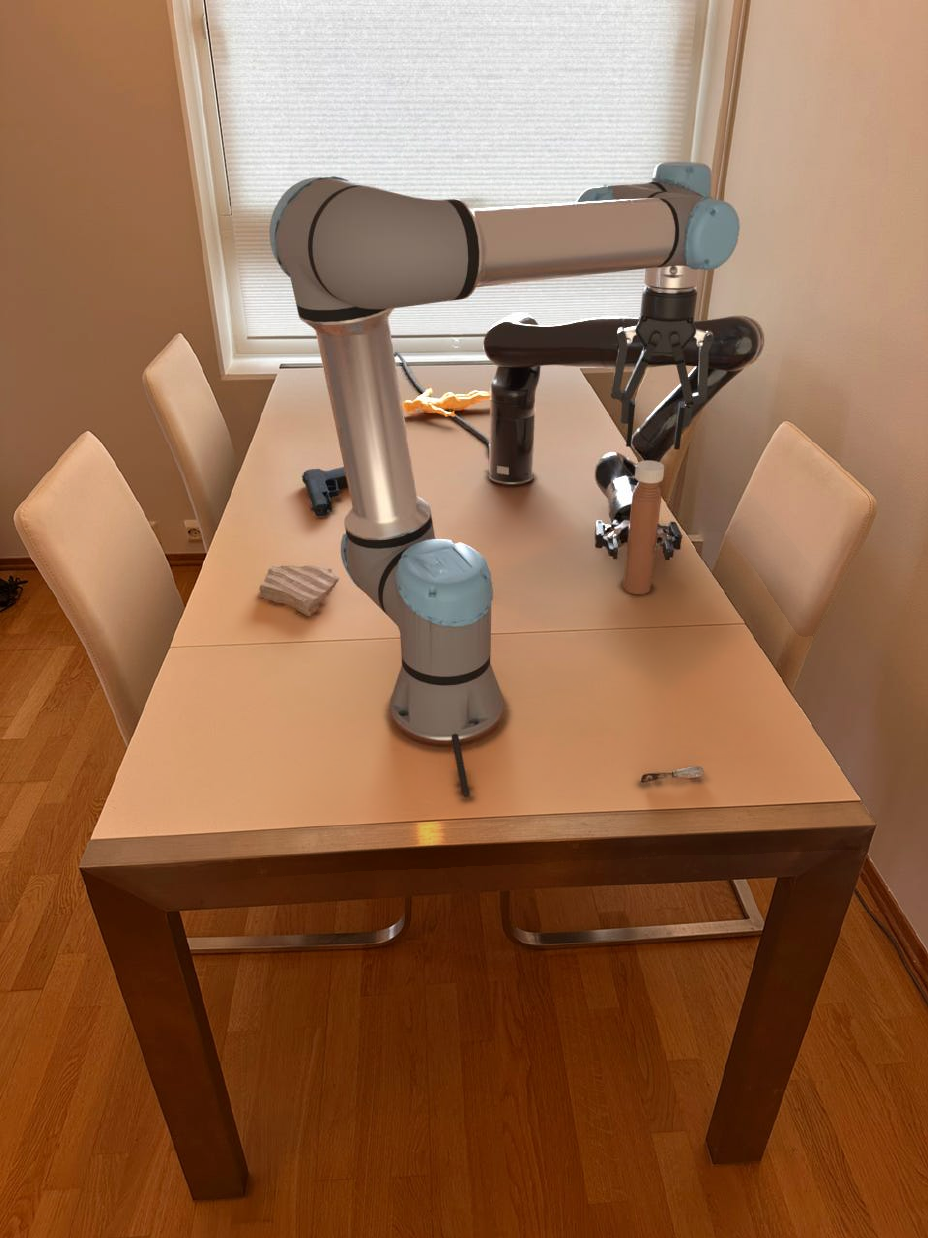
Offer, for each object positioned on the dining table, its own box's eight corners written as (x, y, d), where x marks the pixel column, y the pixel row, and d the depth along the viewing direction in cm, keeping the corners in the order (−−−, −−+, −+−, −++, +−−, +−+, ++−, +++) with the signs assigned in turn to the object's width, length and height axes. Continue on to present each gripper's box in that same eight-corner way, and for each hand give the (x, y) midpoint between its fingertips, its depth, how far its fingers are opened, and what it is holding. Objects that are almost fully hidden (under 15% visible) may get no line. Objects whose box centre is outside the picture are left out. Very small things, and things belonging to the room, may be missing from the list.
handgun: (372, 511, 175) (311, 519, 173) (357, 476, 189) (301, 482, 187) (371, 496, 173) (310, 504, 171) (356, 462, 188) (299, 468, 185)
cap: (645, 470, 142) (646, 458, 141) (668, 477, 139) (670, 465, 138) (629, 478, 139) (630, 465, 138) (652, 485, 136) (654, 473, 135)
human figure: (395, 413, 223) (394, 398, 221) (438, 390, 237) (438, 375, 235) (462, 429, 215) (462, 413, 213) (502, 404, 229) (503, 388, 227)
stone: (348, 583, 151) (347, 570, 149) (311, 618, 141) (310, 604, 140) (283, 570, 155) (281, 557, 154) (243, 602, 146) (241, 589, 144)
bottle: (633, 577, 152) (646, 460, 141) (655, 587, 150) (670, 467, 138) (617, 587, 150) (629, 468, 138) (639, 597, 147) (653, 476, 135)
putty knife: (703, 777, 109) (705, 767, 109) (642, 788, 108) (644, 777, 107) (700, 772, 110) (702, 762, 109) (639, 782, 109) (640, 771, 108)
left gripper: (598, 290, 122) (587, 449, 134) (745, 295, 119) (719, 457, 132) (600, 279, 129) (589, 432, 141) (740, 283, 126) (716, 439, 138)
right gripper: (592, 492, 157) (600, 533, 144) (673, 493, 157) (689, 535, 143) (589, 530, 161) (596, 574, 148) (668, 532, 161) (683, 576, 147)
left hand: (652, 444), depth 136 cm, fingers open, 6 cm apart
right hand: (642, 555), depth 145 cm, fingers open, 8 cm apart
